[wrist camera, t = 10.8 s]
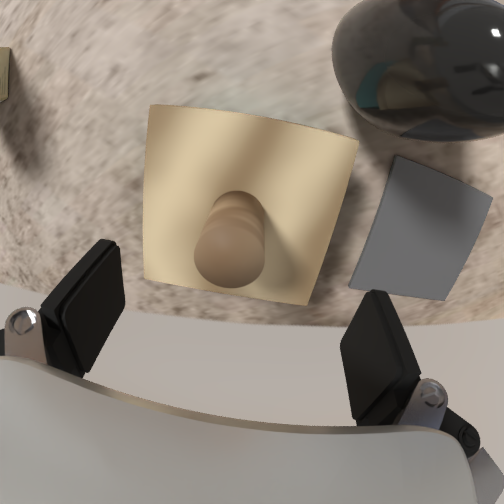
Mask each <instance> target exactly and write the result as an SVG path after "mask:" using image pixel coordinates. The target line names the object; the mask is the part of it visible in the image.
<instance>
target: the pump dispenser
mask: <svg viewBox="0 0 504 504" xmlns="http://www.w3.org/2000/svg"><path fill="white" fill-rule="evenodd" d="M332 61H333V67H334V71H335V75H336V78H337V81H338V83H339V85H340V88H341V90H342V91H343V93H344V95H345V97H346V98H347V100H348V101H349V103H350V104H351V105H352V106H353V108H354V109H355V110H356V111H357V112H358V113H359V114H360V115H361V116H362V117H363V118H364V119H365V120H366V121H368V122H369V123H370V124H372V125H373V126H375V127H376V128H378V129H380V130H382V131H384V132H386V133H388V134H390V135H393V136H396V137H399V138H403V139H407V140H413V141H421V142H433V143H461V142H471V141H478V140H484V139H488V138H493V137H496V136H500V135H503V134H504V5H502V4H500V3H498V2H497V1H494V0H363V1H361V2H360V3H358V4H357V5H355V6H354V7H353V8H351V9H350V10H349V11H348V12H347V13H346V14H345V15H344V17H343V18H342V19H341V21H340V22H339V24H338V26H337V28H336V31H335V34H334V37H333V42H332Z"/></svg>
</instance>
